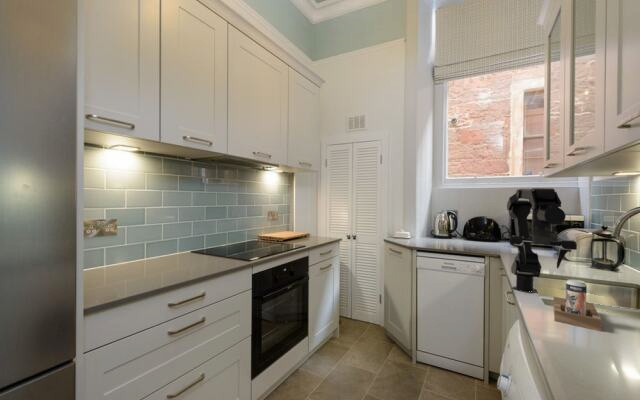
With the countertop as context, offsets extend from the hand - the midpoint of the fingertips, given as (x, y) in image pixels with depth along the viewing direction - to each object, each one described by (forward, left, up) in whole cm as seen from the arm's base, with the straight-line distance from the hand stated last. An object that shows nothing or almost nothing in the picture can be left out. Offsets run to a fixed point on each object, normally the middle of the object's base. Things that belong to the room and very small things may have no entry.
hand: (540, 266), depth 102 cm
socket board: (+6, +11, -13) cm, 18 cm away
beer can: (+10, +13, -13) cm, 21 cm away
